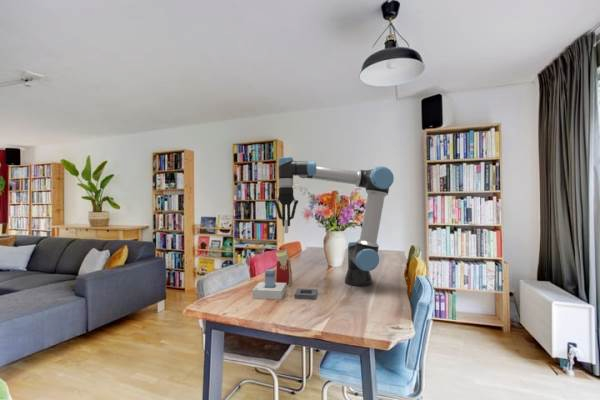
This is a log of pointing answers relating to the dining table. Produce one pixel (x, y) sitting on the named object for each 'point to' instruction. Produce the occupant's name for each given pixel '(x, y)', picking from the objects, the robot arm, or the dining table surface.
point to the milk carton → (283, 268)
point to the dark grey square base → (306, 293)
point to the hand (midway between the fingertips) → (286, 232)
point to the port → (269, 291)
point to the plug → (270, 278)
